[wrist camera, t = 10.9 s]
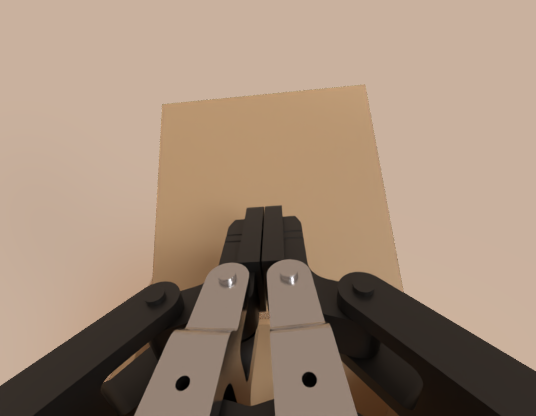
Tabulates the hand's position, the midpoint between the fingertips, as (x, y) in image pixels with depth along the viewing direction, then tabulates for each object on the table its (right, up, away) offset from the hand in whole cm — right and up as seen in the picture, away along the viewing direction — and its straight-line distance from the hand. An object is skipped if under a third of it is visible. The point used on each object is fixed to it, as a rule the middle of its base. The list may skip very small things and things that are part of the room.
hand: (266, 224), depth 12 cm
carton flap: (0, +2, +6) cm, 6 cm away
